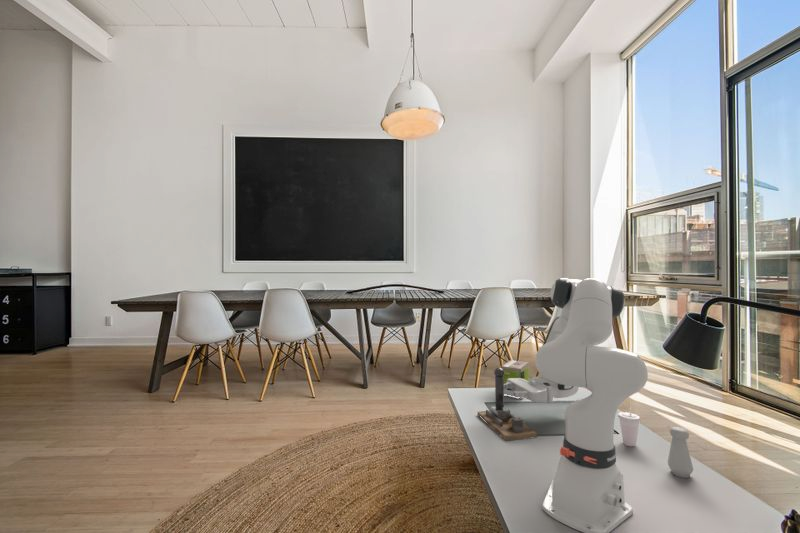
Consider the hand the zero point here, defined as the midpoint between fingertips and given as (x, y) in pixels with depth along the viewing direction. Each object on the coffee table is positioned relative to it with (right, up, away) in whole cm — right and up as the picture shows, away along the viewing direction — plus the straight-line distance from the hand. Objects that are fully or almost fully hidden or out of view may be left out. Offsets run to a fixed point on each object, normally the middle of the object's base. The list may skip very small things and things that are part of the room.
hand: (508, 390), depth 140 cm
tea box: (+14, -13, +32) cm, 37 cm away
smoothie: (+35, -11, -20) cm, 42 cm away
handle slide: (-4, -10, -2) cm, 11 cm away
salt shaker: (+38, -11, -39) cm, 55 cm away
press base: (-3, -12, -5) cm, 13 cm away
